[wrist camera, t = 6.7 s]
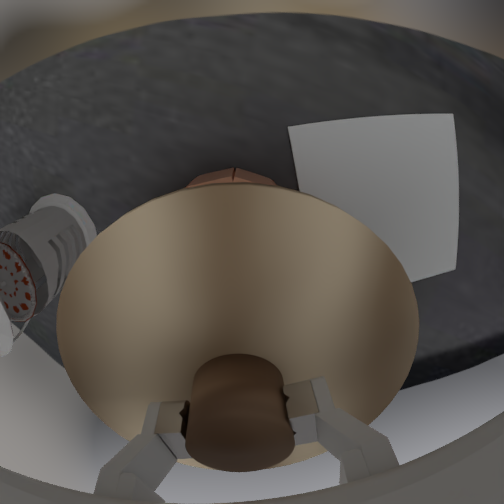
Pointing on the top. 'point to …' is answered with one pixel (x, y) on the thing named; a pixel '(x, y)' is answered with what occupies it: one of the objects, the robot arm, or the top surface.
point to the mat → (389, 181)
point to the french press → (39, 259)
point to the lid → (236, 318)
